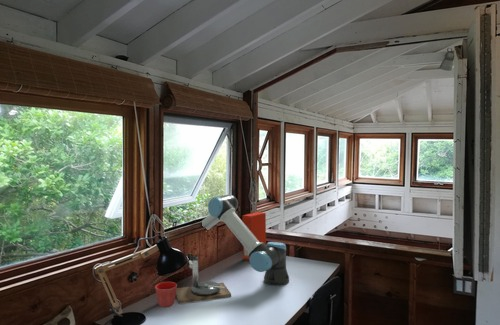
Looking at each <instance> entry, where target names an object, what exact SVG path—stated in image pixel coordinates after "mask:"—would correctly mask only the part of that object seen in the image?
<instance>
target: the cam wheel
mask: <svg viewBox="0 0 500 325" xmlns="http://www.w3.org/2000/svg"><path fill="white" fill-rule="evenodd" d="M219 283H220V282H217V281H211V280H209V281H208V280H207V281H206V280H205V281H200V282H199V260H198V259H197V260H194V259H193V268H192V285H191V286H192V287H191V286H190V287H191V292H192V293H193V294H195V295H199V296H209V295H214V294H217V293H218V292H220V288H224V287H222V286H220V284H219Z"/></svg>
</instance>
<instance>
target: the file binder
mask: <svg viewBox="0 0 500 325" xmlns="http://www.w3.org/2000/svg"><path fill="white" fill-rule="evenodd" d="M266 216H267V215H266V212H260V211H259V212H258V211H257V212H253V213H247V214H244V215H243V214H242V216H241V217H242V219H241V220H242V222H243V223H244V224H245V225H246V226H247V228H248V229H249V230H250V231H251V232H252V234H253V235H254V236H255V237H256V238H257V240H258V241H259V242H262V243H264V244H265V245H267V232H266V231H267V228H266V226H267V223H266V222H267V221H266V220H267V219H266ZM242 259H243V260H245V261H247V262H248V261H249V262H250V258H249V256H248V251H247V250H246V248H245V247H244V246H243V245H242Z"/></svg>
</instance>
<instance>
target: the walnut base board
mask: <svg viewBox="0 0 500 325" xmlns="http://www.w3.org/2000/svg"><path fill="white" fill-rule="evenodd" d="M218 283H219V284H220V286H222V287H224V288H220V292H218V293H217V294H214V295H209V296H199V295H195V294H193V293H192V292H191V287H192V285H191V286H183V287H177V289H176V295H175V297H176V299H177V302H178V304H179V305H180V304H186V303H194V302H201V301H202V302H204V301H209V300H216V299H224V298H231V297H232V293H231V292H230V290H229V288H228V287H227V286H226V284H225V283H224V282H218Z"/></svg>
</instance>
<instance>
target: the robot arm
mask: <svg viewBox="0 0 500 325" xmlns="http://www.w3.org/2000/svg"><path fill="white" fill-rule="evenodd" d="M238 207H239V202H238V199H237V198H236V196H235V195H232V194H225V195H221V196H219V195H218V196H215V197H213V198H212V197H211V199H210V200H209V201H208V204H207V210H208V215H207V216H206V217H205V218H203V219H202V220H201V221H202V226H203V227H205V228H206V229H207V230H208V231H209V230H210V229H211V228H213V227H214V226H215V225H216V224H218V223H219V222H223V223H225V225H226V227H228V228H229V230H230V231H231V233H233V234H234V236H235V238H236V239H237V240H238V241H239V242H240V243H241V245H242V247H243V246H244V247H245V248H246V250H247V251H248V256H249V258H250V261H249V264H250V267H251V268H252V269H253V270H254V271H256V272H259V273H263V272H265V273H264V276H263V282H264V283H265V284H267V285H272V286H283V285H287V284H288V283H289V282H290V277H289V276H290V275H289V272H288V270H287V246H286V244H285V243H283V242H276V241H268V242H266V245H265V244H264V243H262V242H259V241H258V240H257V238H256V237H255V236H254V235H253V234H252V232H251V231H250V230H249V229H248V228H247V226H246V225H245V224H244V223H243V219H241V218H240V217H239V216H238V215H237V214H238V213H236V211H237V209H238ZM188 258H189V261H188V263H187V264H185V265H186V267H189V268H190V269H193V260H198V254H196V255H194V254H193V253H192V254H191V255H190V254H188Z"/></svg>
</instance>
